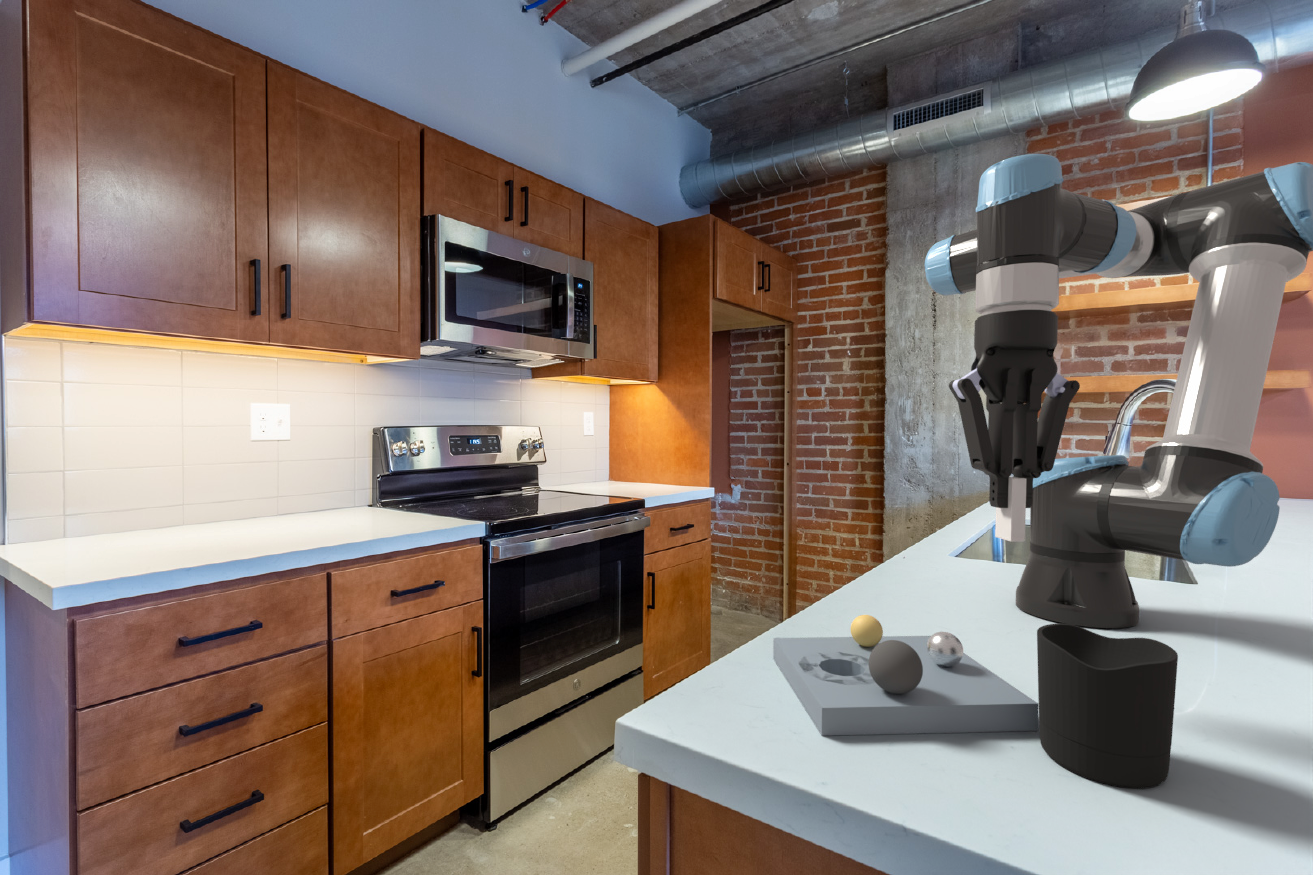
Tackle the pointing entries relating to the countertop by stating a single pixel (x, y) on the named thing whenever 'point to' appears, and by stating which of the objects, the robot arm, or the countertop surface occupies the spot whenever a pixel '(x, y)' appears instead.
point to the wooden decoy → (866, 630)
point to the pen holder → (1106, 704)
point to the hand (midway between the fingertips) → (1009, 538)
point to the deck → (856, 705)
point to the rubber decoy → (895, 667)
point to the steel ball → (945, 649)
